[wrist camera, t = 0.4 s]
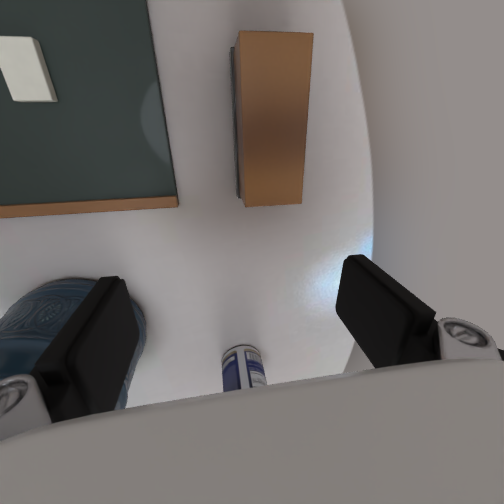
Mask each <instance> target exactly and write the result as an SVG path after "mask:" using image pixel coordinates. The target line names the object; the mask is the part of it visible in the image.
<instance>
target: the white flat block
mask: <svg viewBox="0 0 504 504" xmlns="http://www.w3.org/2000/svg"><path fill="white" fill-rule="evenodd" d="M0 68H1V71H2V73H3V76H4V78H5V81H6V83H7V86H8V88H9V91H10V93H11V96H12V98H13V100H14V101H17V102H58V100H57V97H56V93H55V90H54V87H53V84H52V81H51V78H50V75H49V72H48V69H47V66H46V63H45V60H44V57H43V54H42V50H41V47H40V44H39V42H38V41H37V40H36V39H34V38H32V37H19V36H0Z"/></svg>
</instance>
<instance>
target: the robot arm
mask: <svg viewBox="0 0 504 504" xmlns="http://www.w3.org/2000/svg"><path fill="white" fill-rule="evenodd" d="M336 312H337V315H338V316H339V317H340V319H341V320H342V322H343V323H344V325H345V326H346V327H347V329H348V330H349V332H350V333H351V335H352V336H353V337H354V339H355V340H356V342H357V343H358V345H359V346H360V347H361V349H362V350H363V352H364V353H365V354H366V356H367V357H368V359H369V360H370V362H371V363H372V364H373V366H374V367H375V369H370V370H363V371H356V372H349V373H343V374H336V375H329V376H323V377H316V378H310V379H304V380H297V381H291V382H285V383H278V384H272V385H266V386H259V387H253V388H247V389H240V390H234V391H228V392H222V393H216V394H209V395H203V396H197V397H191V398H185V399H179V400H173V401H167V402H160V403H154V404H148V405H143V406H137V407H132V408H126V409H120V410H115V411H114V409H115V407H116V404H117V401H118V398H119V395H120V392H121V389H122V386H123V384H124V381H125V378H126V375H127V372H128V369H129V366H130V363H131V360H132V358H133V355H134V352H135V349H136V346H137V343H138V340H139V336H140V331H139V327H138V323H137V320H136V317H135V313H134V310H133V307H132V303H131V300H130V297H129V293H128V290H127V286H126V283H125V281H124V279H120V278H119V277H118V276H110V277H101V278H100V279H99V280H98V281H97V283H96V284H95V285H94V287H93V288H92V289H91V291H90V292H89V293H88V294H87V296H86V297H85V298H84V300H83V301H82V302H81V304H80V305H79V306H78V308H77V309H76V310H75V312H74V313H73V314H72V315H71V317H70V318H69V319H68V321H67V322H66V323H65V325H64V326H63V327H62V329H61V330H60V331H59V332H58V334H57V335H56V336H55V338H54V339H53V340H52V342H51V343H50V344H49V346H48V347H47V348H46V350H45V351H44V352H43V353H42V355H41V356H40V357H39V359H38V360H37V361H36V363H35V364H34V365H35V367H34V368H33V369H32V371H31V372H30V373H29V375H28V374H19V375H14V376H10V377H7V378H5V379H2V380H0V504H504V350H501V349H498V348H497V346H496V343H495V341H494V340H493V338H492V336H490V335H489V334H488V333H487V332H486V331H485V330H483V329H482V328H480V327H479V326H476V325H475V324H473V323H470V322H468V321H465V320H462V319H457V318H442V319H441V320H440V321H438V322H437V321H436V320H435V319H434V317H435V314H436V312H435V311H434V310H433V309H431V308H430V307H429V306H427V305H426V304H425V303H424V302H422V301H421V300H420V299H418V298H417V297H416V296H415V295H414V294H412V293H411V292H410V291H408V290H407V289H406V288H405V287H403V286H402V285H401V284H400V283H398V282H397V281H396V280H395V279H393V278H392V277H391V276H389V275H388V274H387V273H386V272H385V271H383V270H382V269H381V268H379V267H378V266H377V265H376V264H374V263H373V262H372V261H371V260H369V259H368V258H367V257H366V256H364V255H363V254H359V255H349V256H348V257H347V259H345V260H344V262H343V268H342V273H341V279H340V285H339V290H338V296H337V301H336Z"/></svg>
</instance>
